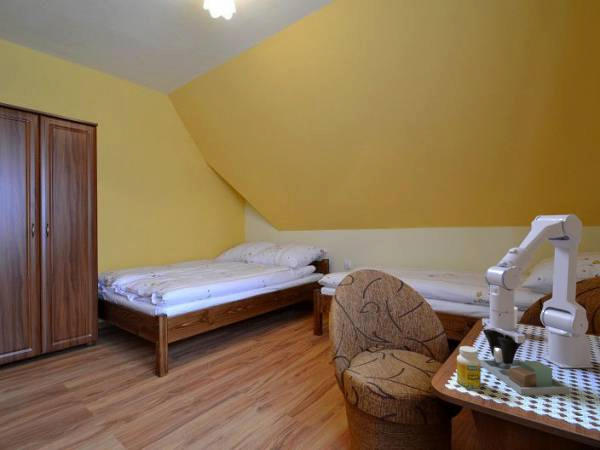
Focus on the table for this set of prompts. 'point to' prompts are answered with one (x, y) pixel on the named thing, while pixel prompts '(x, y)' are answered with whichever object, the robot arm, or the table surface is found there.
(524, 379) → the walnut cube
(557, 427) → the table surface
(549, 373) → the teal block
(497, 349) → the cylinder
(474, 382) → the supplement bottle
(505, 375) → the tray
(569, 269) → the robot arm
